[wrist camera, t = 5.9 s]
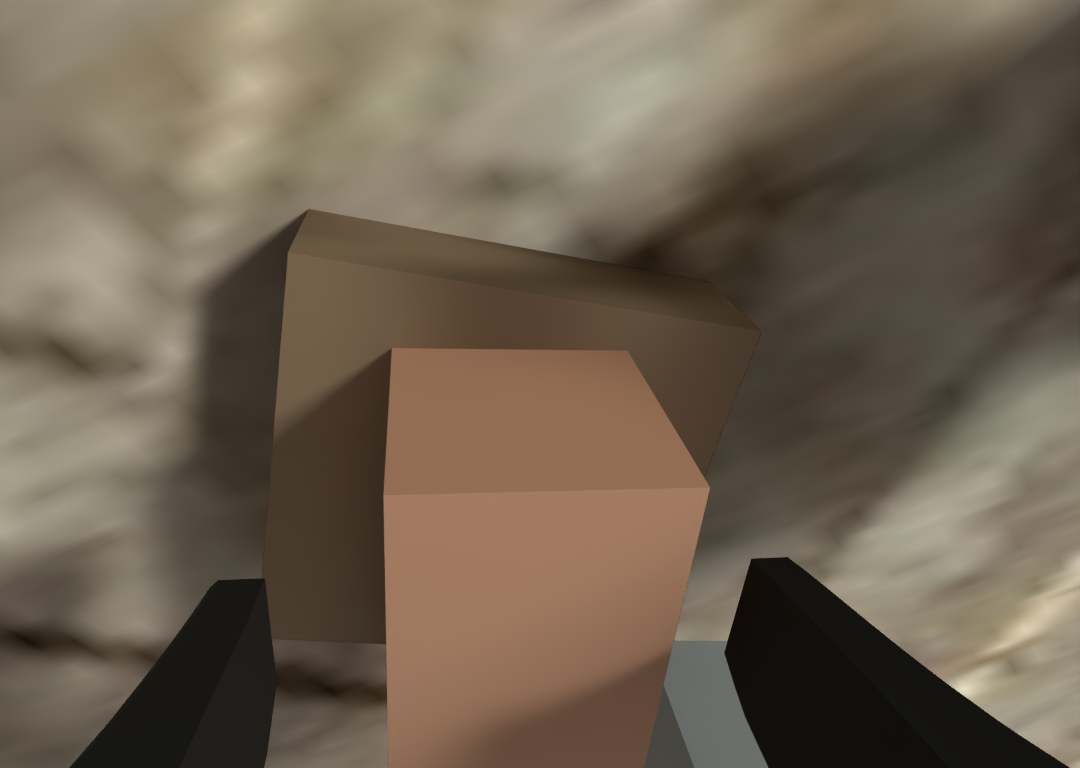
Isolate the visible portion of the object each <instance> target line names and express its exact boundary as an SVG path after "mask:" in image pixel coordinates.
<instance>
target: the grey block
mask: <svg viewBox="0 0 1080 768" xmlns="http://www.w3.org/2000/svg"><path fill="white" fill-rule="evenodd" d="M727 642H728V641H674V643H673V647H672V651H671V656H670V660H669V664H668V668H667V673H666V677H665V681H664V685H663V690H662V694H661V698H660V702H659V707H658V711H657V715H656V719H655V724H654V728H653V732H652V736H651V741H650V745H649V749H648V753H647V758H646V762H645V766H644V768H768V766H767V764H766V762H765V759H764V757H763V755H762V753H761V751H760V749H759V746H758V744H757V742H756V740H755V738H754V736H753V733H752V731H751V729H750V727H749V725H748V722H747V720H746V718H745V715H744V712H743V709H742V707H741V704H740V701H739V698H738V695H737V692H736V689H735V686H734V683H733V680H732V676H731V673H730V670H729V667H728V664H727V660H726V657H725V654H724V652H725V649H726V645H727Z"/></svg>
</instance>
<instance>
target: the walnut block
mask: <svg viewBox="0 0 1080 768" xmlns="http://www.w3.org/2000/svg"><path fill="white" fill-rule="evenodd" d="M761 332H762V331H761V330H760V329H759V328H758V327H757V326H756V325H755V324H754V323H753V322H752V321H751V320H750V319H748V318H747V317H746V316H745V315H744V314H743V313H742V312H741V311H740V310H739V309H738V308H737V307H736V306H735V305H734V304H733V303H732V302H731V301H730V300H729V299H728V298H727V297H726V296H725V295H723V294H722V293H721V292H720V291H719V290H718V289H717V288H716V287H715V286H714V285H713V284H712V283H711V282H708V281H702V280H697V279H691V278H686V277H680V276H675V275H669V274H664V273H658V272H653V271H647V270H642V269H636V268H631V267H625V266H620V265H614V264H609V263H603V262H598V261H592V260H587V259H581V258H576V257H570V256H565V255H559V254H554V253H548V252H543V251H537V250H532V249H526V248H521V247H515V246H510V245H504V244H499V243H493V242H488V241H482V240H477V239H471V238H465V237H460V236H454V235H449V234H443V233H438V232H432V231H427V230H421V229H416V228H410V227H405V226H399V225H394V224H388V223H383V222H377V221H372V220H366V219H361V218H355V217H350V216H344V215H339V214H333V213H328V212H322V211H317V210H311V209H308V212H307V214H306V216H305V218H304V220H303V222H302V224H301V226H300V228H299V230H298V232H297V235H296V237H295V239H294V241H293V243H292V245H291V247H290V249H289V251H288V259H287V271H286V283H285V296H284V308H283V321H282V333H281V345H280V358H279V370H278V382H277V395H276V407H275V420H274V432H273V444H272V457H271V469H270V481H269V494H268V506H267V518H266V531H265V543H264V556H263V568H262V579H264V578H265V583H266V592H267V601H268V610H269V619H270V627H271V636H272V639H285V640H308V641H331V642H354V643H377V644H386V604H385V550H384V497H383V495H384V477H385V460H386V443H387V425H388V408H389V391H390V373H391V356H392V348H425V349H518V350H612V351H628V352H629V354H630V356H631V357H632V359H633V361H634V362H635V364H636V366H637V367H638V369H639V370H640V372H641V374H642V375H643V377H644V379H645V380H646V382H647V384H648V385H649V387H650V389H651V390H652V392H653V394H654V395H655V397H656V399H657V400H658V402H659V404H660V405H661V407H662V409H663V410H664V412H665V414H666V415H667V417H668V419H669V420H670V422H671V423H672V425H673V427H674V428H675V430H676V432H677V433H678V435H679V437H680V438H681V440H682V442H683V443H684V445H685V447H686V448H687V450H688V452H689V453H690V455H691V457H692V458H693V460H694V462H695V463H696V465H697V467H698V468H699V470H700V472H701V473H702V475H703V477H704V476H705V474H706V471H707V469H708V466H709V464H710V461H711V459H712V456H713V454H714V451H715V449H716V446H717V444H718V441H719V438H720V436H721V433H722V431H723V428H724V426H725V423H726V421H727V418H728V416H729V413H730V411H731V408H732V406H733V403H734V401H735V398H736V395H737V393H738V390H739V388H740V385H741V383H742V380H743V378H744V375H745V373H746V370H747V368H748V365H749V363H750V360H751V358H752V355H753V353H754V350H755V347H756V345H757V342H758V340H759V337H760V335H761Z"/></svg>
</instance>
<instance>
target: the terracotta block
mask: <svg viewBox="0 0 1080 768" xmlns="http://www.w3.org/2000/svg"><path fill="white" fill-rule="evenodd" d="M709 490H710V486H709V485H708V483H707V481H706V480H705V478H704V477H703V475H702V473H701V472H700V470H699V468H698V467H697V465H696V463H695V462H694V460H693V458H692V457H691V455H690V453H689V452H688V450H687V448H686V447H685V445H684V443H683V442H682V440H681V438H680V437H679V435H678V433H677V432H676V430H675V428H674V427H673V425H672V423H671V422H670V420H669V419H668V417H667V415H666V414H665V412H664V410H663V409H662V407H661V405H660V404H659V402H658V400H657V399H656V397H655V395H654V394H653V392H652V390H651V389H650V387H649V385H648V384H647V382H646V380H645V379H644V377H643V375H642V374H641V372H640V370H639V369H638V367H637V366H636V364H635V362H634V361H633V359H632V357H631V356H630V354H629V352H628V351H612V350H518V349H425V348H392V356H391V373H390V391H389V408H388V425H387V443H386V460H385V477H384V495H383V497H384V550H385V604H386V657H387V711H388V765H389V768H644V766H645V762H646V758H647V753H648V749H649V745H650V741H651V736H652V732H653V728H654V724H655V719H656V715H657V711H658V707H659V702H660V698H661V694H662V690H663V685H664V681H665V677H666V673H667V668H668V664H669V660H670V656H671V651H672V647H673V643H674V639H675V635H676V630H677V626H678V622H679V618H680V613H681V609H682V605H683V601H684V596H685V592H686V588H687V584H688V579H689V575H690V571H691V567H692V562H693V558H694V554H695V550H696V545H697V541H698V537H699V533H700V528H701V524H702V520H703V516H704V511H705V507H706V503H707V499H708V494H709Z"/></svg>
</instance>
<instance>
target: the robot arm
mask: <svg viewBox="0 0 1080 768" xmlns="http://www.w3.org/2000/svg"><path fill="white" fill-rule="evenodd" d="M724 654H725V657H726V660H727V664H728V667H729V670H730V673H731V676H732V680H733V683H734V686H735V689H736V692H737V695H738V698H739V701H740V704H741V707H742V709H743V712H744V715H745V718H746V720H747V722H748V725H749V727H750V729H751V731H752V733H753V736H754V738H755V740H756V742H757V744H758V746H759V749H760V751H761V753H762V755H763V757H764V759H765V762H766V764H767V766H768V768H1069V767H1068V766H1066V765H1065V764H1063V763H1061V762H1060V761H1058V760H1057V759H1055V758H1054V757H1052V756H1051V755H1049V754H1048V753H1046V752H1044V751H1043V750H1041V749H1040V748H1038V747H1037V746H1035V745H1034V744H1032V743H1031V742H1029V741H1028V740H1026V739H1024V738H1023V737H1021V736H1020V735H1018V734H1017V733H1015V732H1014V731H1012V730H1011V729H1010V728H1008V727H1007V726H1005V725H1004V724H1002V723H1001V722H999V721H998V720H996V719H995V718H994V717H992V716H991V715H989V714H988V713H986V712H985V711H984V710H982V709H981V708H980V707H978V706H977V705H975V704H974V703H973V702H971V701H970V700H969V699H967V698H966V697H964V696H963V695H962V694H960V693H959V692H958V691H956V690H955V689H954V688H952V687H951V686H949V685H948V684H947V683H945V682H944V681H943V680H941V679H940V678H939V677H937V676H936V675H935V674H933V673H932V672H931V671H930V670H928V669H927V668H926V667H924V666H923V665H922V664H920V663H919V662H918V661H917V660H915V659H914V658H913V657H911V656H910V655H909V654H908V653H906V652H905V651H904V650H903V649H901V648H900V647H899V646H897V645H896V644H895V643H894V642H892V641H891V640H890V639H889V638H887V637H886V636H885V635H884V634H882V633H881V632H880V631H879V630H878V629H876V628H875V627H874V626H873V625H871V624H870V623H869V622H868V621H866V620H865V619H864V618H863V617H862V616H860V615H859V614H858V613H857V612H855V611H854V610H853V609H852V608H851V607H849V606H848V605H847V604H846V603H844V602H843V601H842V600H841V599H840V598H838V597H837V596H836V595H835V594H833V593H832V592H831V591H830V590H829V589H827V588H826V587H825V586H824V585H822V584H821V583H820V582H819V581H818V580H816V579H815V578H814V577H813V576H811V575H810V574H809V573H808V572H806V571H805V570H804V569H802V568H801V567H800V566H799V565H797V564H796V563H795V562H793V561H792V560H791V559H789V558H788V557H783V558H758V559H751V562H750V565H749V569H748V572H747V576H746V579H745V583H744V586H743V590H742V593H741V596H740V600H739V603H738V607H737V610H736V614H735V617H734V621H733V624H732V628H731V631H730V635H729V638H728V642H727V645H726V649H725V652H724ZM276 683H277V681H276V672H275V663H274V654H273V645H272V636H271V627H270V619H269V610H268V601H267V592H266V583H265V578H264V579H239V580H218V581H217V582H216V583H215V584H213V585H212V586H211V587H210V588H209V590H208V591H207V593H206V594H205V596H204V597H203V599H202V600H201V602H200V603H199V605H198V606H197V607H196V609H195V610H194V612H193V613H192V615H191V616H190V617H189V619H188V620H187V622H186V623H185V624H184V626H183V627H182V629H181V630H180V631H179V633H178V634H177V635H176V637H175V638H174V640H173V641H172V642H171V644H170V645H169V646H168V648H167V649H166V650H165V652H164V653H163V654H162V656H161V657H160V658H159V660H158V661H157V662H156V664H155V665H154V666H153V667H152V669H151V670H150V671H149V673H148V674H147V675H146V676H145V678H144V679H143V680H142V681H141V683H140V684H139V685H138V686H137V688H136V689H135V690H134V691H133V693H132V694H131V695H130V696H129V698H128V699H127V700H126V702H125V703H124V704H123V705H122V707H121V708H120V709H119V710H118V712H117V713H116V714H115V715H114V717H113V718H112V719H111V720H110V721H109V723H108V724H107V725H106V726H105V727H104V729H103V730H102V731H101V732H100V733H99V734H98V735H97V737H96V738H95V739H94V740H93V741H92V742H91V744H90V745H89V746H88V747H87V748H86V749H85V750H84V752H83V753H82V754H81V755H80V756H79V757H78V758H77V760H76V761H75V762H74V763H73V764H72V765H71V767H70V768H264V765H265V761H266V756H267V749H268V742H269V735H270V728H271V721H272V714H273V706H274V699H275V691H276Z"/></svg>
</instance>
